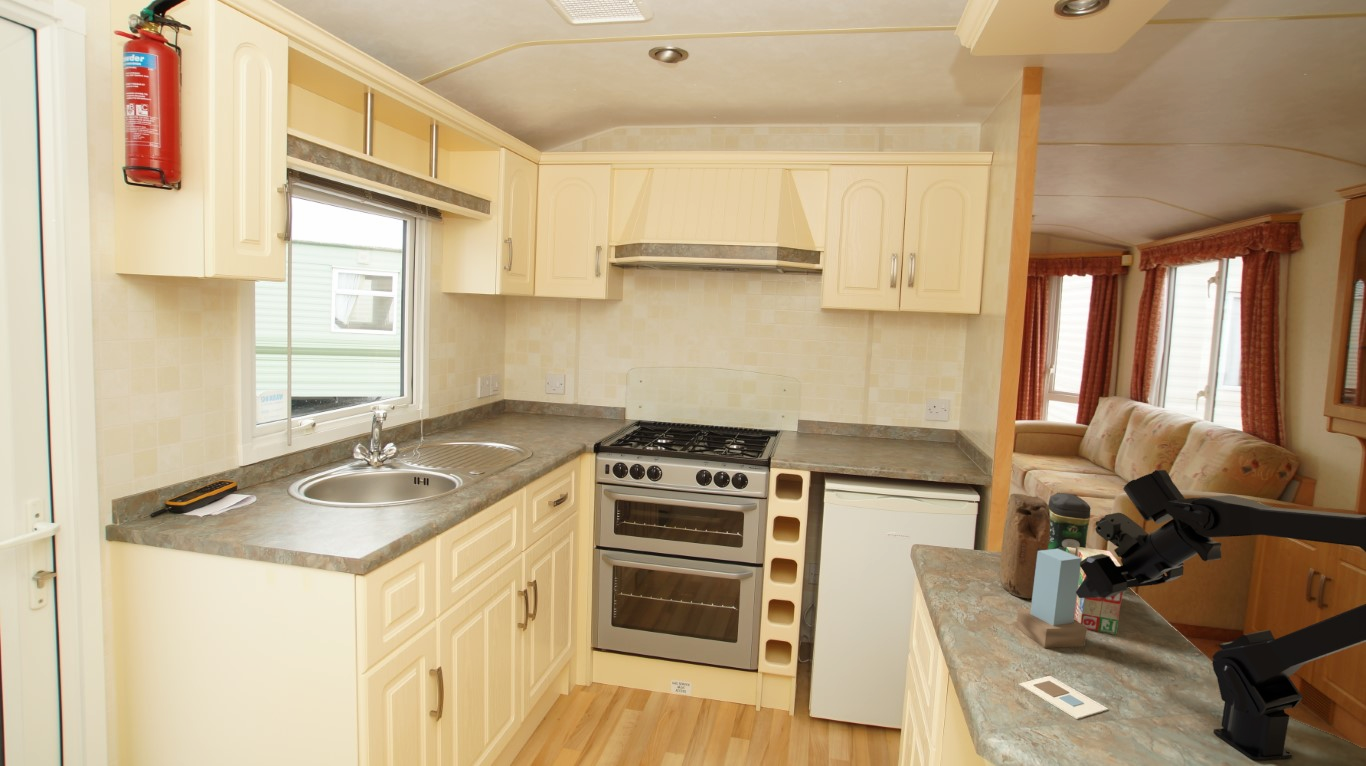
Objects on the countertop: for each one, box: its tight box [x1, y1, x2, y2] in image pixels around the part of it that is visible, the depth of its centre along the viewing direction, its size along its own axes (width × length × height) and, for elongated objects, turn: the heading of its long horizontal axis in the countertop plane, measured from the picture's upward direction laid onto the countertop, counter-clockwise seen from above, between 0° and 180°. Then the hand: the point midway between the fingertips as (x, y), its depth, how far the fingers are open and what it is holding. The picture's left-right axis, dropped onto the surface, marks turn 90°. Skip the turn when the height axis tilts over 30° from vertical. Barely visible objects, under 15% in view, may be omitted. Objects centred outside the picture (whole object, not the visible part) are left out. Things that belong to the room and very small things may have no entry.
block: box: [999, 493, 1051, 599], centre depth 153 cm, size 11×8×20 cm
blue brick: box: [1030, 549, 1082, 626], centre depth 132 cm, size 5×5×12 cm
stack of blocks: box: [1066, 547, 1124, 635], centre depth 145 cm, size 21×6×12 cm, turn 161°
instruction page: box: [1019, 675, 1109, 720], centre depth 112 cm, size 10×7×1 cm
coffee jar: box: [1047, 492, 1092, 552], centre depth 162 cm, size 10×8×19 cm
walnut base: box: [1015, 608, 1088, 649], centre depth 133 cm, size 8×8×4 cm
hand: (1096, 590), depth 124 cm, fingers open, 9 cm apart
